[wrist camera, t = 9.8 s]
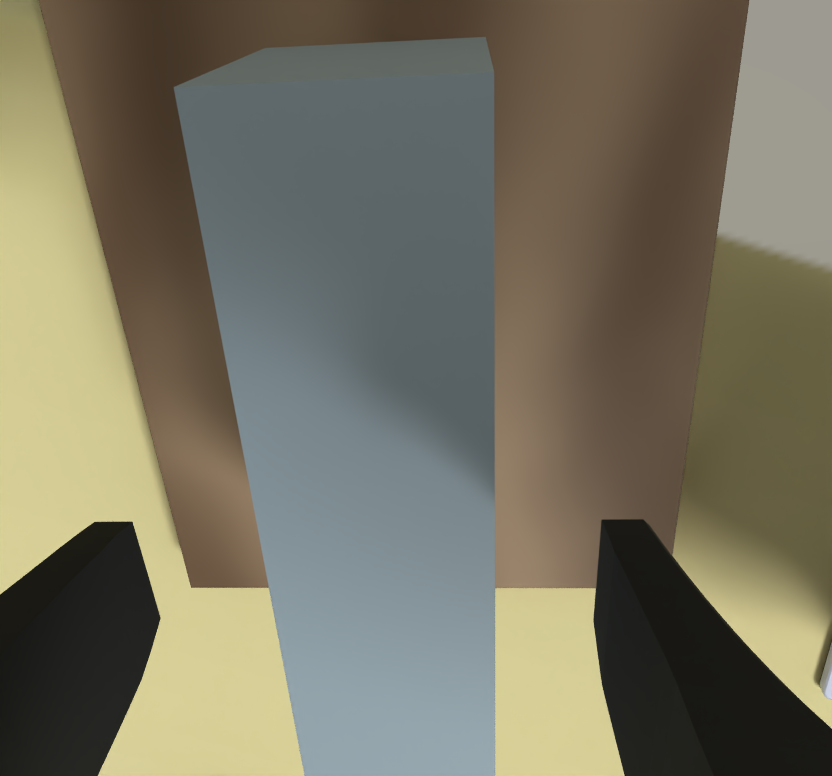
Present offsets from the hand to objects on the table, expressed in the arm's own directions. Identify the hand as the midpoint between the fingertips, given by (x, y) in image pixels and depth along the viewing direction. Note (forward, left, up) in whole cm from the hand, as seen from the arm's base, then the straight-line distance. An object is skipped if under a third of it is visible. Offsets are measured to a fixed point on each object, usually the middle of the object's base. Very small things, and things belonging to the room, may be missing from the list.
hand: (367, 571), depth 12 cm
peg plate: (0, 0, -10) cm, 10 cm away
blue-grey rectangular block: (0, 0, -6) cm, 6 cm away
